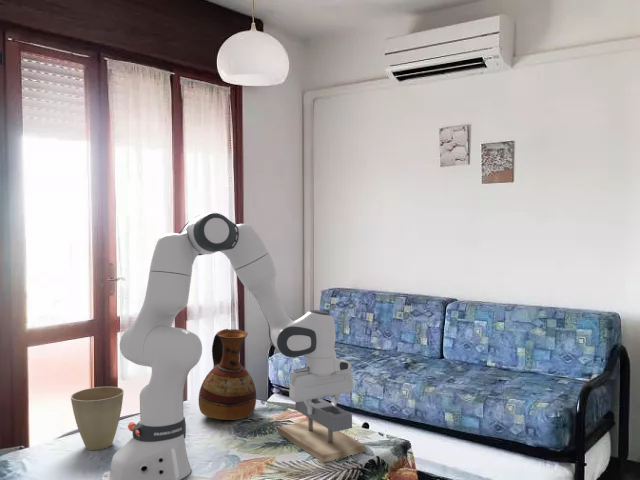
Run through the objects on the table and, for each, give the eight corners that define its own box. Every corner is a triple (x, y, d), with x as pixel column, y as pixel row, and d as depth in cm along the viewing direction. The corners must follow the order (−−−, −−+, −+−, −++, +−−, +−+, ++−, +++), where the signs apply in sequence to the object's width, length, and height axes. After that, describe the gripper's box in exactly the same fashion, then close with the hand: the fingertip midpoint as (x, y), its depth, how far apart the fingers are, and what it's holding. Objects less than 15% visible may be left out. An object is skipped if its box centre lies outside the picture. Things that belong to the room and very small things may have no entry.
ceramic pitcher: (219, 430, 189) (217, 337, 188) (187, 416, 204) (185, 330, 203) (268, 416, 202) (266, 329, 202) (234, 404, 217) (233, 323, 217)
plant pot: (63, 446, 177) (62, 393, 177) (111, 433, 188) (109, 384, 187) (85, 459, 167) (83, 403, 166) (134, 445, 177) (132, 392, 177)
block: (333, 431, 163) (333, 417, 163) (295, 409, 183) (295, 397, 183) (352, 428, 166) (351, 413, 166) (312, 406, 186) (312, 394, 186)
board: (323, 462, 161) (322, 436, 160) (278, 433, 185) (277, 410, 185) (365, 452, 168) (365, 427, 167) (316, 425, 192) (316, 403, 192)
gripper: (295, 372, 166) (296, 420, 166) (355, 362, 176) (356, 408, 177) (284, 367, 172) (285, 415, 172) (344, 358, 182) (345, 403, 182)
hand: (322, 411), depth 174 cm, fingers closed on block, 6 cm apart
